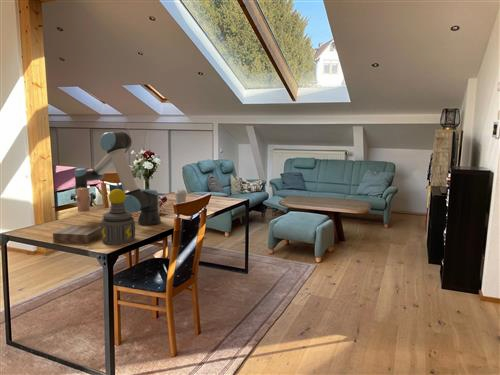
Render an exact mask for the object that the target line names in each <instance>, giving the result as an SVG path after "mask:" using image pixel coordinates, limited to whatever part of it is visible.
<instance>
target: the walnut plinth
mask: <svg viewBox="0 0 500 375" xmlns="http://www.w3.org/2000/svg"><path fill="white" fill-rule="evenodd" d="M99 237H100V238H101V226H96V225H95V226H94V225H93V226H92V225H75V224H74V225H73V224H70V225H68V226H65V227H64V228H61V229H59V230H57V231H55V232H53V233H52V240H53V241H52V242H54V243H67V244H68V243H70V244H89V243H91V242H92V241H94V240H96V239H98V238H99Z"/></svg>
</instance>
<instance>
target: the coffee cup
mask: <svg viewBox="0 0 500 375" xmlns="http://www.w3.org/2000/svg"><path fill="white" fill-rule="evenodd" d="M174 195H175V202H176V203H181V202H185V203H186V199H187V190H186V189H175V191H174Z"/></svg>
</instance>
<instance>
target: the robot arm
mask: <svg viewBox="0 0 500 375" xmlns="http://www.w3.org/2000/svg"><path fill="white" fill-rule="evenodd" d="M100 136H101V137H100V139H99V146H100V148H101V149H102V150H103V151H105V152H106V155H104V156H103V158H102V159H101V160H100V161H99V162H98V163H97V164H96V166H95V167H94V168H92V170H87V169H86V168H83V167H81V168H75V169H74V179H75V180H74V182H75V185H74V186H75V190H74V191H75V193H70V200H71V201H74V202H76V203H77V188H88V182H93V181H100V180H103V179H104V176H105V173H106V172H107V171H108V170H109V169H110V168H111V167H112V165H114V169H115V171H116V174H117V177H118V179H119V182H120V184H121V186H122V191H123V192H124V193H125V195H126V198H125V201H124V202H123V203H124V206H125V208H124V209H125V210H126V211H128V212H131V213H132V214H134V213H138V212H139V215H138V219H137V224H138V225H142V226H155V224H156V225H159V224H161V223H162V218H161V215H160V212H159V213H158V201H159V195H158V191H157V190H156V189H148V188H146V189H143V188H142V189H141V188H140V187H138V186H137V184H136V180H135V178H134V175H133V173H132V170H131V167H130V164H129V162H128V159H127V156H126V153H127V152H128V151H129V150H130V149H131V147H132V143H133V140H132V137H131V136H130V135H129V134H128V133H127V132H123V131H118V132H117V131H116V132H114V131H109V132H104V133H103V134H102V135H100ZM94 193H95V192H90V193H89V202H91V201H92V200H95V199H96V194H94Z"/></svg>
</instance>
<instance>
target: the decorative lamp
mask: <svg viewBox="0 0 500 375" xmlns="http://www.w3.org/2000/svg"><path fill="white" fill-rule="evenodd" d="M125 198H126V195H125V193H124V190H123V189H121V188H114V189H112V190H111V191H109V194H108V200H109V202H110V209H109V211H107V212H106V213H103V216H102V217H103V218H102V219H101V222H100V227H101V236H100V238H101V239H102V240H101V241H102V243H104V244H106V243H107V244H106V245H113V244H116V245H123V244H122V243H125V244H128V242H129V243H132V242H133V241H134V240H135V237H136V221H135V218H134V217H133V213H131V212H128V211H126V210H125V209H124V208H125V206H124V203H123V202H124V201H125Z"/></svg>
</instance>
